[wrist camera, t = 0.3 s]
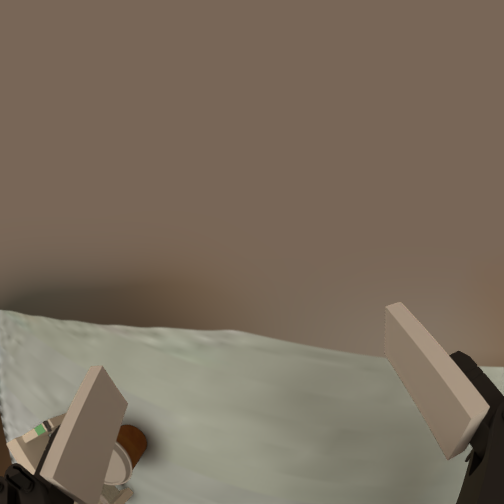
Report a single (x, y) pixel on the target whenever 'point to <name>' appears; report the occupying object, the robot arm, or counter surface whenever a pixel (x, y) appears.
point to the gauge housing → (33, 446)
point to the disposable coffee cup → (125, 455)
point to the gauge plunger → (108, 490)
